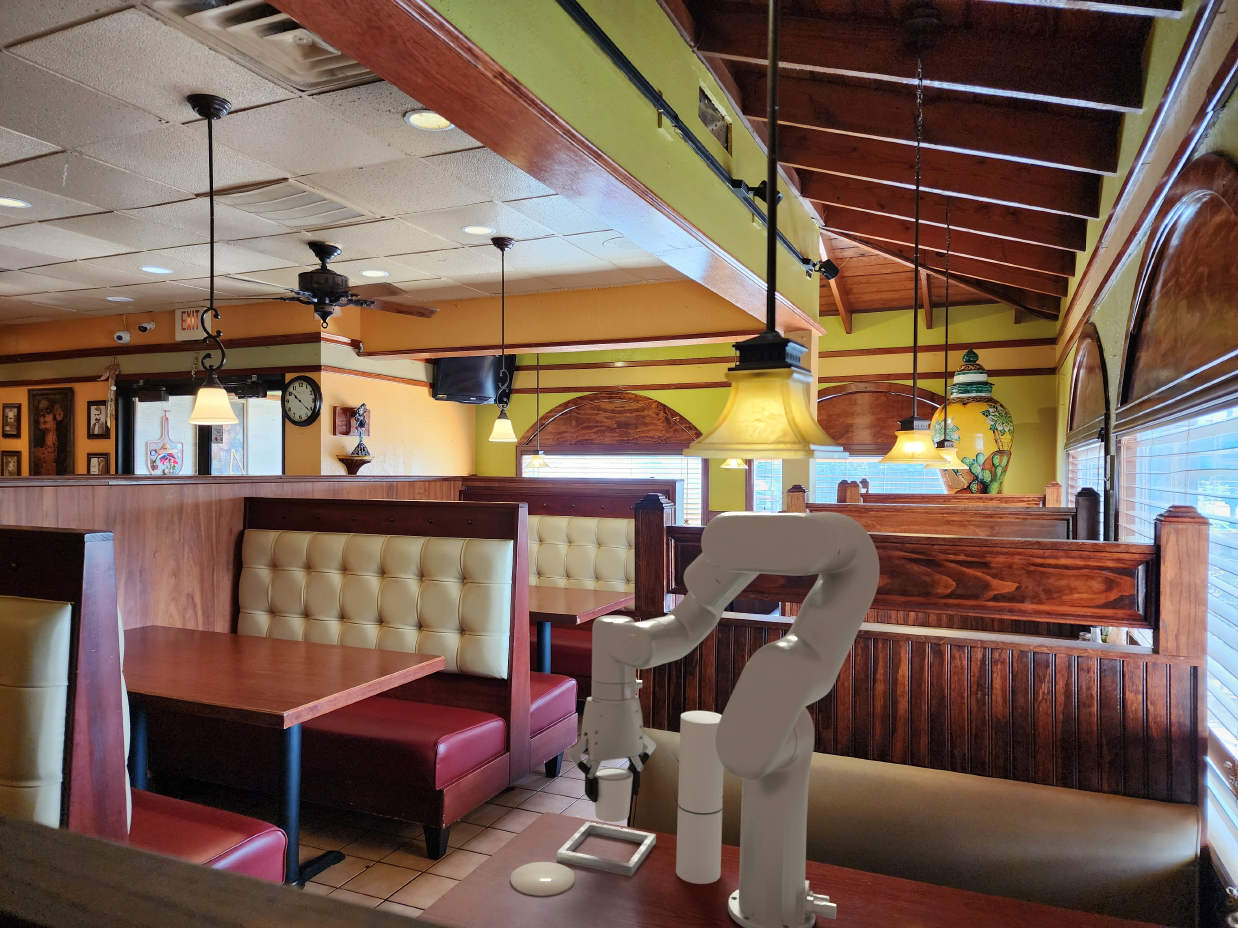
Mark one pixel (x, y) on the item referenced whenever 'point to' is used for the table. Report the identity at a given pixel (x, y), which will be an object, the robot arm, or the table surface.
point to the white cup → (613, 794)
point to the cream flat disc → (542, 878)
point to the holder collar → (602, 863)
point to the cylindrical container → (699, 799)
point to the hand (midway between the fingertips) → (612, 795)
